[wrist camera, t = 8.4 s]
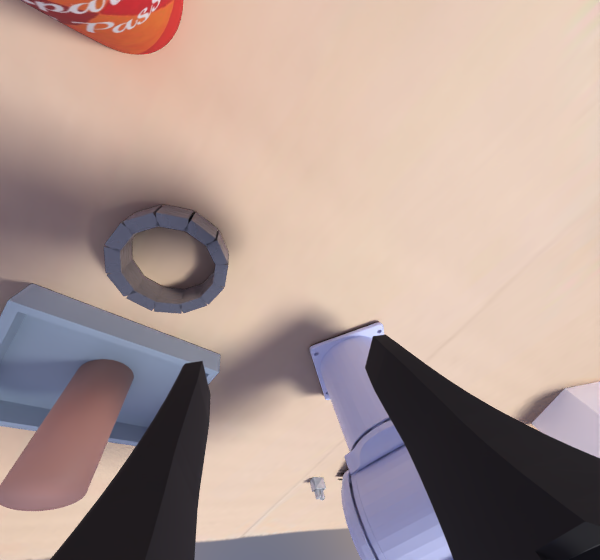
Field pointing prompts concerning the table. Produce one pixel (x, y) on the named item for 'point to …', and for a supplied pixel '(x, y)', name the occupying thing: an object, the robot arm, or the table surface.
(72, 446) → the peg
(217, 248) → the sleeve
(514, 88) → the table surface
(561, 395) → the milk
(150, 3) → the paper cup
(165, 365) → the tray
